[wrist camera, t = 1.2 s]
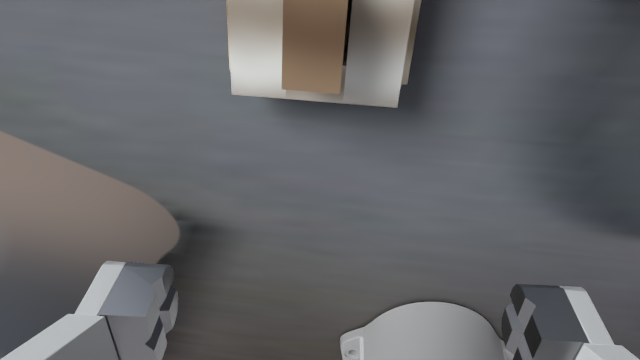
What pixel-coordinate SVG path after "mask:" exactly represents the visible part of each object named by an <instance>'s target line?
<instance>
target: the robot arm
mask: <svg viewBox="0 0 640 360" xmlns="http://www.w3.org/2000/svg"><path fill="white" fill-rule="evenodd" d="M173 278H174V274H173V270H172V266H169V265H159V264H146V263H133V262H117V261H106V262H105V263H104V264H103V265H102V266H101V268H100V269H99V271H98V273H97V275H96V277H95V278H94V280H93V282H92V284H91V286H90V287H89V289H88V291H87V293H86V294H85V296H84V298H83V300H82V301H81V303H80V305H79V307H78V309H77V310H76V312H75V314H67V315H66V316H64V317H63V318H61V319H60V320H58V321H57V322H55V323H54V324H52V325H51V326H49V327H48V328H47V329H45V330H43V331H42V332H40V333H39V334H38V335H36V336H34V337H33V338H32V339H30V340H29V341H27V342H26V343H24V344H23V345H21V346H20V347H18V348H17V349H15V350H14V351H12V352H11V353H9V354H8V355H6V356H5V357H3V358H2V359H0V360H162V357H163V354H164V352H165V349H166V346H167V341H166V337H165V334H166V333H167V332H169V331H170V330H171V329H172V328H173V326H174V323H175V319H176V315H177V308H178V295H177V289H175V288H174V287H173V286H172V285H171V283H172V281H173ZM510 297H511V299H512V302H513V303H512V304H510V305H509V306H507V307H506V308H505V310H504V313H503V316H502V328H501V329H502V336H503V340H504V341H503V340H501V339H500V338H499V337H498V336H497V334H496V333H495V331H494V329H493V327H492V326H491V325H490V323H489V322H488V321H487V320H486V319H485V318H483V317H482V316H481V315H479V314H478V313H476V312H474V311H472V310H470V309H468V308H465V307H463V306H459V305H456V304H451V303H444V302H418V303H412V304H407V305H403V306H400V307H397V308H394V309H392V310H389V311H387V312H385V313H383V314H382V315H380V316H379V317H377V318H376V319H375V320H373V321H372V322H371V323H369V324H368V325H366V326H365V327H362V328H359V329H356V330H353V331H350V332H347V333H345V334H343V335H342V336H341V338H340V346H341V352H342V358H343V360H640V359H638V358H637V357H636V356H634V355H633V354H632V353H631V352H629V351H628V350H627V349H625V348H624V347H623V346H621V345H615V344H614V342H613V340H612V339H611V337H610V335H609V333H608V331H607V329H606V327H605V325H604V324H603V322H602V320H601V318H600V316H599V314H598V312H597V310H596V309H595V307H594V305H593V303H592V301H591V299H590V297H589V295H588V294H587V292H586V290H585V289H583V288H582V287H570V286H550V285H528V284H516V285H515V286H514V287H513V289H512V291H511V294H510Z"/></svg>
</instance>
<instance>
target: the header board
mask: <svg viewBox="0 0 640 360" xmlns="http://www.w3.org/2000/svg"><path fill="white" fill-rule="evenodd" d="M226 3H227V25H228V47H229V69H230V71H231V87H232V95H245V96H257V97H269V98H282V99H294V100H307V101H319V102H332V103H344V104H356V105H369V106H381V107H394V108H397V106H398V99H399V93H400V87H401V84H404V85H407V83H408V77H409V71H410V65H411V59H412V53H413V47H414V41H415V35H416V30H417V24H418V18H419V12H420V6H421V0H348V7H347V19H346V30H345V41H344V53H343V64H342V75H341V87H340V94H333V93H321V92H308V91H296V90H283V89H282V36H283V0H226Z"/></svg>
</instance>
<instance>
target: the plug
mask: <svg viewBox="0 0 640 360" xmlns="http://www.w3.org/2000/svg"><path fill="white" fill-rule="evenodd" d="M347 7H348V0H283V36H282V89H283V90H296V91H308V92H321V93H333V94H340V87H341V75H342V64H343V53H344V41H345V30H346V19H347Z"/></svg>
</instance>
